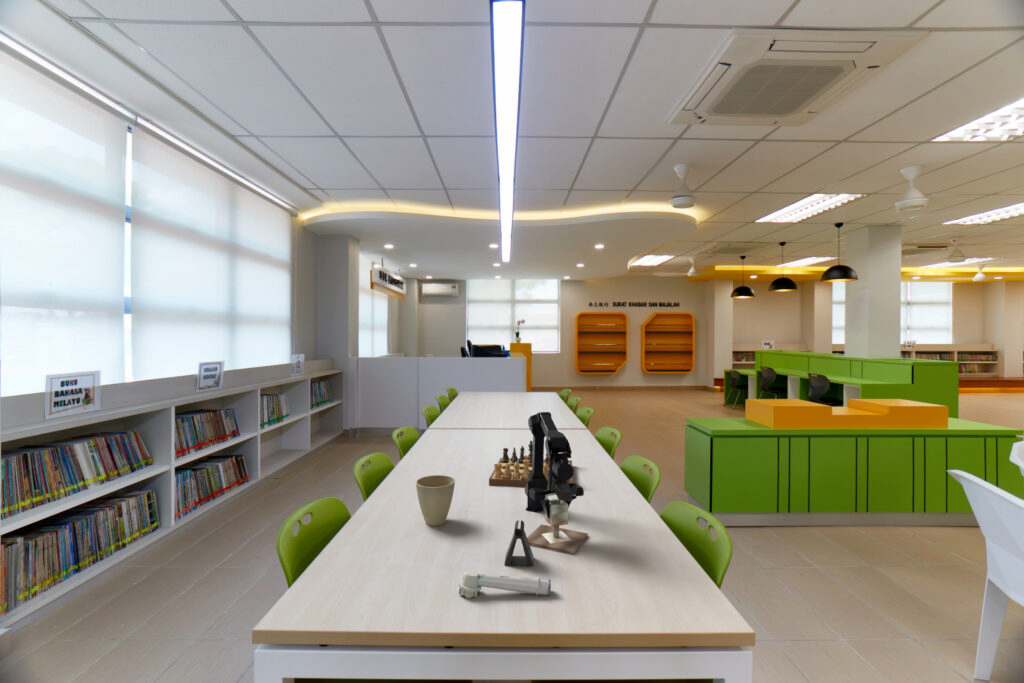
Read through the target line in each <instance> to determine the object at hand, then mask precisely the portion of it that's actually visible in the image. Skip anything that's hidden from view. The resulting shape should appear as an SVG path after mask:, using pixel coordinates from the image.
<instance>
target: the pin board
mask: <svg viewBox="0 0 1024 683" xmlns="http://www.w3.org/2000/svg"><path fill="white" fill-rule="evenodd" d="M588 536H589V534H588V532H583V531H577V530H572V529H568V528H561V527H560V525H559V526H551V525H546V524H542V523H541V524H540V525H539V526H538V527H537V528H536V529H535V530H533V532H532V533H530V534H529V535H528V536H527V539H528V542H529V545H530V547H535V548H541V549H545V550H551V551H555V552H559V553H563V554H569V555H573V556H574V555H575V554H576V552H577V551H578V550H579V548H580V547H581V546H582V544H583V543H584V542H585V540H586V539H587V538H588Z"/></svg>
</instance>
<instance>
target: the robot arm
mask: <svg viewBox="0 0 1024 683" xmlns="http://www.w3.org/2000/svg"><path fill="white" fill-rule="evenodd" d="M527 424H528V427H529V428H528V429H529V431H530V433H531V434H532V442H533V443H532V444H533V455H532V471H531V472H530V473H529V475H528V481H527V482H526V485H525V487H524V493H525V495H526V497H527V502H526V505H527V507H526V508H525V510H526V511H529V512H530V511H531V512H534V513H542V512H543V511H544V514H545V513H546V516H547V517H548V518H549V503H550V500H551V499H549V496H556V498H557V499H559V500H563V501H565V502H566V503H567V504H568V509H570V505H571V503H572V501H574V500H575V499H577V498H578V497H583V496H584V495H585V491H584V488H583V486H582V485H579V484H578V483H576V482H573V483H571V484H570V483H567V480H569V479H571V478H572V476H574V473H575V471H574V467H573V465H572V466H571V465H570V464H569V463H568V460H569V459H572V449H571V448H572V447H571V446H570V442H569V440H568V438H567V437H566V436H565V434H564V433H563V432H561V431H559V430H558V428H557V426H556V424H555V422H554V420H553V418H552V413H551V412H550V411H539V412H537V413H535V414H533V415H530V417H528V421H527ZM546 451H547V452H546ZM545 452H546V453H547V455H548V458H549V472H548V473H547V476H548V482H547V479H546V477H545V475H544V473H543V460H545V458H544V455H545V454H544V453H545ZM565 452H567V453H565ZM567 458H568V460H567Z"/></svg>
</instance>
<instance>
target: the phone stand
mask: <svg viewBox="0 0 1024 683" xmlns="http://www.w3.org/2000/svg"><path fill="white" fill-rule="evenodd" d="M519 523H520V528H519ZM527 537H528V536H527V534H526V531H525V521H523V519H521V520H516V521H515V523H514V531H513V534H512V538H511V541H510V543H509V546H508V548H507V551H506V553H505V558H504V566H505V567H534V557H535V556H534V554H533V551H532V549H531V545H529V542H528V539H527ZM518 539H519V540H520V542H521V544H522V549H523V552H524V556H523V555H514V552H515V548H516V543H517V540H518Z"/></svg>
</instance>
